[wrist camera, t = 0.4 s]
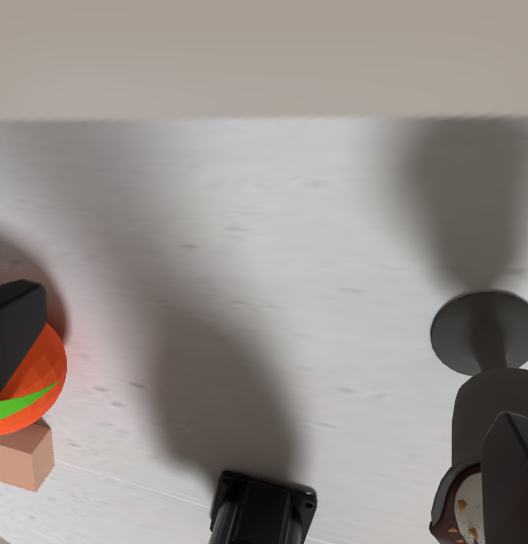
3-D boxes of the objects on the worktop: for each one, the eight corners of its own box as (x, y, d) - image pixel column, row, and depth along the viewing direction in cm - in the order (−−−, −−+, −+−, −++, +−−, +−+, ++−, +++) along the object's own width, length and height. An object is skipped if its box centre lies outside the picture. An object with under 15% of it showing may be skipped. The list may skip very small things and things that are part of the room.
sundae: (402, 285, 24) (431, 630, 11) (560, 266, 22) (826, 662, 9) (418, 391, 26) (456, 765, 14) (560, 383, 24) (760, 812, 12)
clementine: (79, 277, 27) (-6, 358, 21) (121, 375, 30) (56, 470, 24) (-36, 288, 29) (-144, 364, 23) (13, 378, 33) (-71, 466, 26)
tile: (56, 463, 36) (35, 492, 34) (6, 448, 37) (-17, 476, 35) (52, 425, 34) (31, 454, 32) (0, 410, 35) (-25, 437, 33)
